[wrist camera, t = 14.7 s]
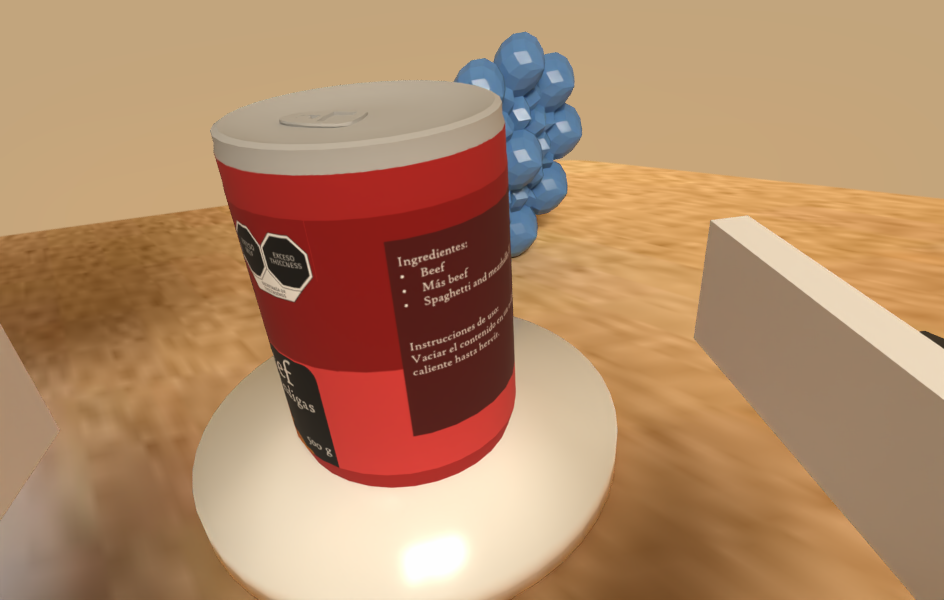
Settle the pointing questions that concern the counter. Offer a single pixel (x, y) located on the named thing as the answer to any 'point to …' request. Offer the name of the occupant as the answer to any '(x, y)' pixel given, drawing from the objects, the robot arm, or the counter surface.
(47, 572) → the counter surface
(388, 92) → the canned food
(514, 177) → the grapes
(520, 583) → the plate
